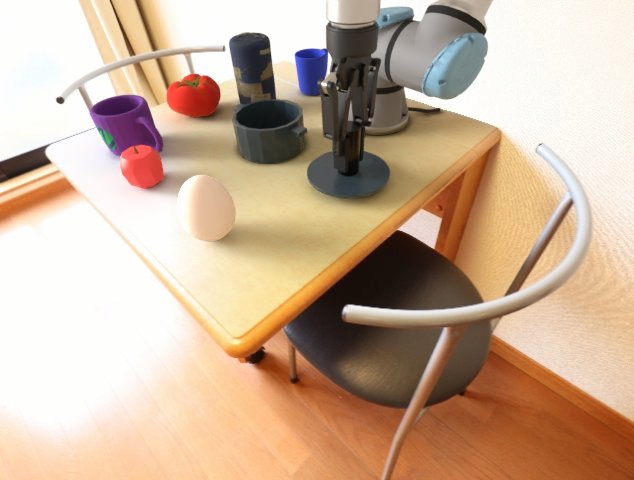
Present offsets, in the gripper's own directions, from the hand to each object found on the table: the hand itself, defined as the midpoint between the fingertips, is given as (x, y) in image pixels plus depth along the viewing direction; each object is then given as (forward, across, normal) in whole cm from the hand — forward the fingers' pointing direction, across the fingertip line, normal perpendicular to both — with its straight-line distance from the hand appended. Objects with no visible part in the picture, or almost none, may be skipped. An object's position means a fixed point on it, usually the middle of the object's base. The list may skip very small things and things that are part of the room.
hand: (348, 163), depth 68 cm
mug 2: (+4, -30, -34) cm, 46 cm away
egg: (+4, +26, -8) cm, 27 cm away
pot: (+4, -1, -22) cm, 22 cm away
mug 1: (+4, +18, -43) cm, 47 cm away
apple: (+4, +24, -32) cm, 40 cm away
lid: (+2, 0, 0) cm, 2 cm away
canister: (+4, -12, -38) cm, 40 cm away
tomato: (+4, -1, -48) cm, 48 cm away
